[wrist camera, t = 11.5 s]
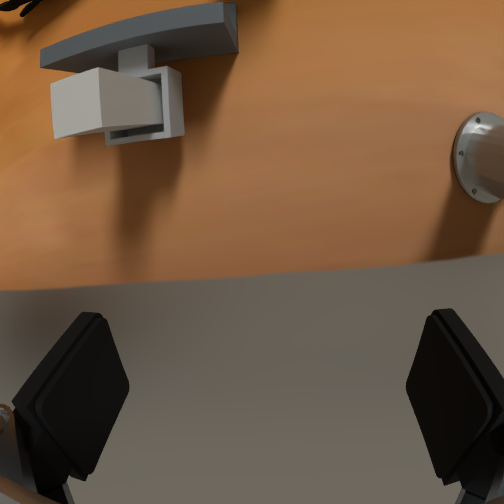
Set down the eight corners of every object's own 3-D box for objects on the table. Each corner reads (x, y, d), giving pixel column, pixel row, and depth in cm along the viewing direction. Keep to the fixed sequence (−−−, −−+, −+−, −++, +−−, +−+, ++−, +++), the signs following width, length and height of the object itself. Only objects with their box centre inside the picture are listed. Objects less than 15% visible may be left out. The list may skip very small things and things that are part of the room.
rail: (166, 86, 28) (98, 67, 15) (169, 123, 30) (102, 127, 17) (131, 93, 29) (50, 83, 16) (133, 128, 30) (54, 139, 17)
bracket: (236, 5, 28) (221, -40, 17) (242, 130, 34) (228, 133, 23) (97, 32, 30) (43, 12, 19) (101, 146, 36) (45, 159, 25)
